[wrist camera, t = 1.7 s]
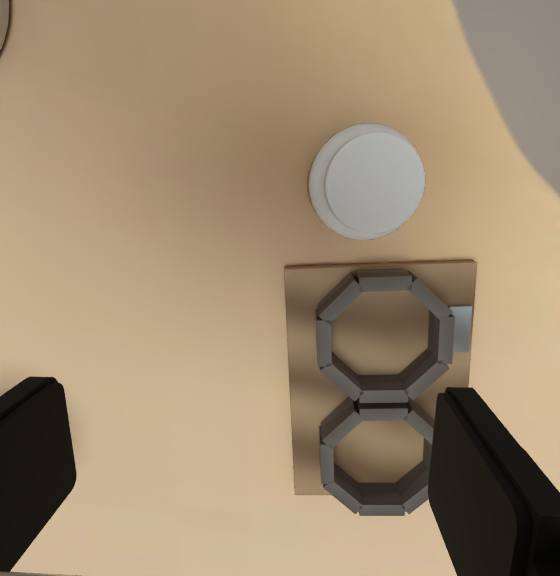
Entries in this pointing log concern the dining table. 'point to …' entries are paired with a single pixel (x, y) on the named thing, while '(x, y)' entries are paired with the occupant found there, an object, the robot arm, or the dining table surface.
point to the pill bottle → (366, 181)
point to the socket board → (373, 375)
